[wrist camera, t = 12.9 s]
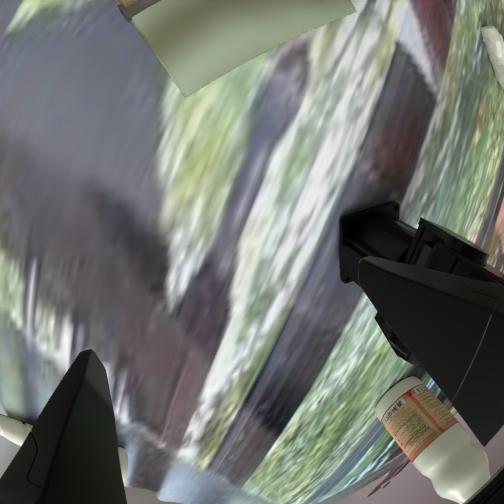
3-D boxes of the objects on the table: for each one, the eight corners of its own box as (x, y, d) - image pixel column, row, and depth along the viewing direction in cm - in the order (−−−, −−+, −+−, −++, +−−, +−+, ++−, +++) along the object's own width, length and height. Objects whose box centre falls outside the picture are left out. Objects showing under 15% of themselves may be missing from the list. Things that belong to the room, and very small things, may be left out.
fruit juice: (421, 365, 44) (525, 477, 20) (411, 395, 48) (498, 496, 24) (376, 394, 42) (480, 524, 18) (370, 421, 46) (455, 535, 23)
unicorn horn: (-59, 369, 18) (-72, 401, 14) (130, 442, 30) (134, 476, 26) (-57, 392, 19) (-67, 423, 15) (117, 458, 31) (121, 490, 27)
